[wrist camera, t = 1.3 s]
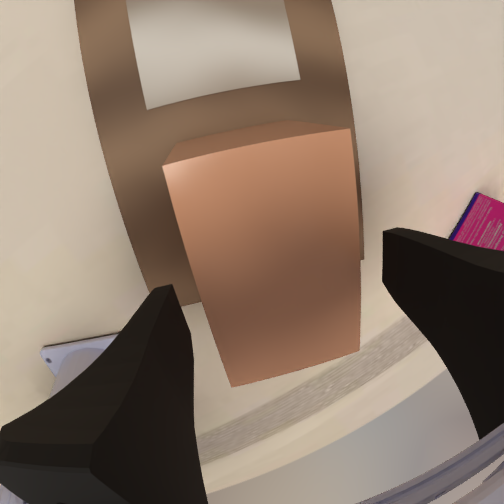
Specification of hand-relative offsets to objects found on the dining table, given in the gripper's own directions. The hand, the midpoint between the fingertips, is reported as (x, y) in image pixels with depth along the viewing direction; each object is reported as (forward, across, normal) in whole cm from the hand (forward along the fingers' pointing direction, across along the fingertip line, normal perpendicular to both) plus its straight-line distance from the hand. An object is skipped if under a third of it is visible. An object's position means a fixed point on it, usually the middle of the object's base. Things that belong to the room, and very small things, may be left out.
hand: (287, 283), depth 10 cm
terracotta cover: (+7, 0, 0) cm, 7 cm away
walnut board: (+8, 0, -7) cm, 11 cm away
